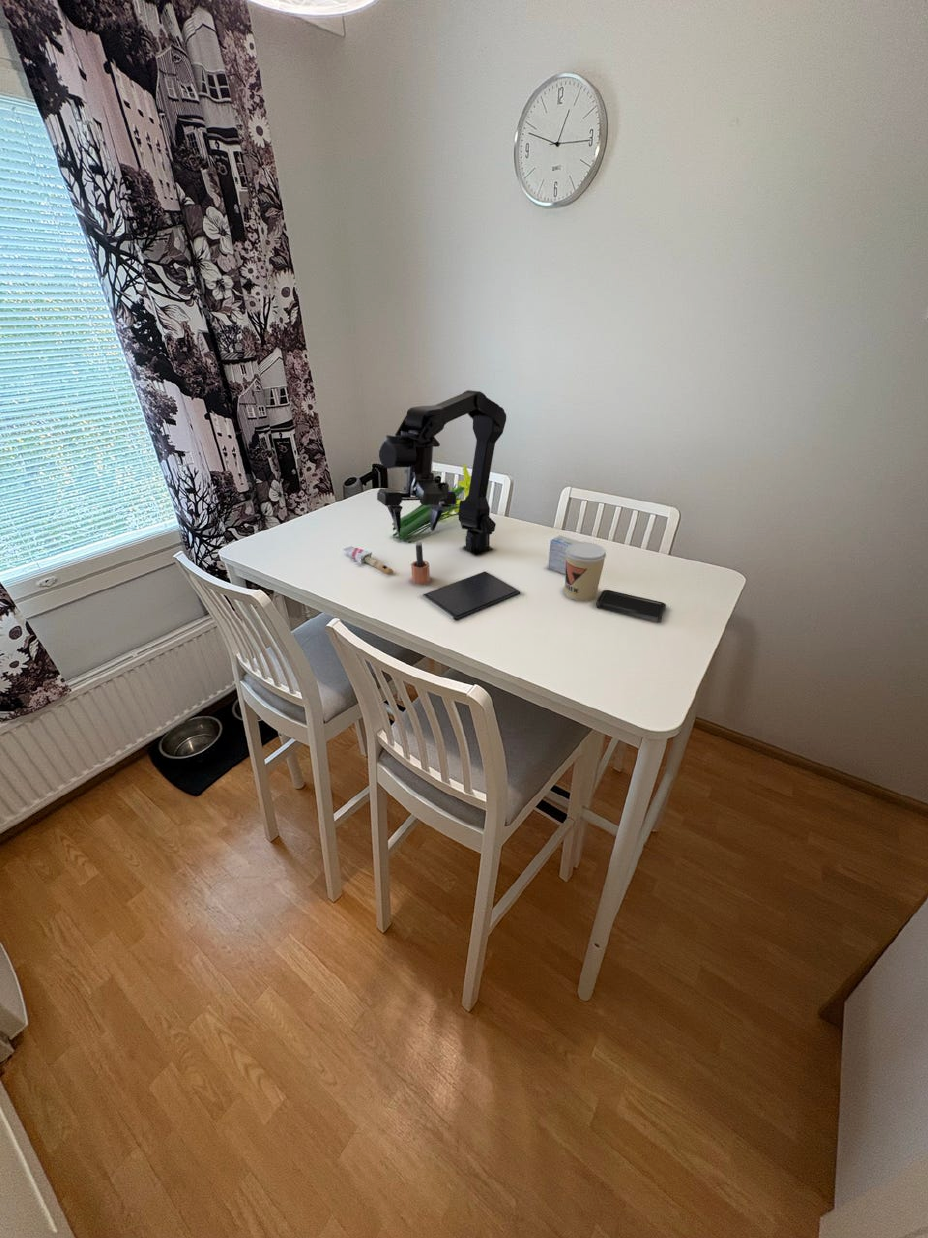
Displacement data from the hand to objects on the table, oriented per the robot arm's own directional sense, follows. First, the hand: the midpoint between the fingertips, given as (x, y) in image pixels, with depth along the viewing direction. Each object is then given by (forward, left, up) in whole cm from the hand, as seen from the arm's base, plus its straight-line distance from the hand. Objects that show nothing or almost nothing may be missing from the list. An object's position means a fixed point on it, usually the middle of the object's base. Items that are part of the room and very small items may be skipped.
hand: (415, 531), depth 121 cm
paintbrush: (+6, -17, -14) cm, 23 cm away
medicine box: (-34, +20, -14) cm, 42 cm away
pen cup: (0, +1, -14) cm, 14 cm away
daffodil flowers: (-24, -25, -14) cm, 38 cm away
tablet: (-6, +15, -14) cm, 21 cm away
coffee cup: (-28, +31, -14) cm, 44 cm away
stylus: (0, +1, -13) cm, 13 cm away
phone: (-32, +43, -14) cm, 55 cm away
